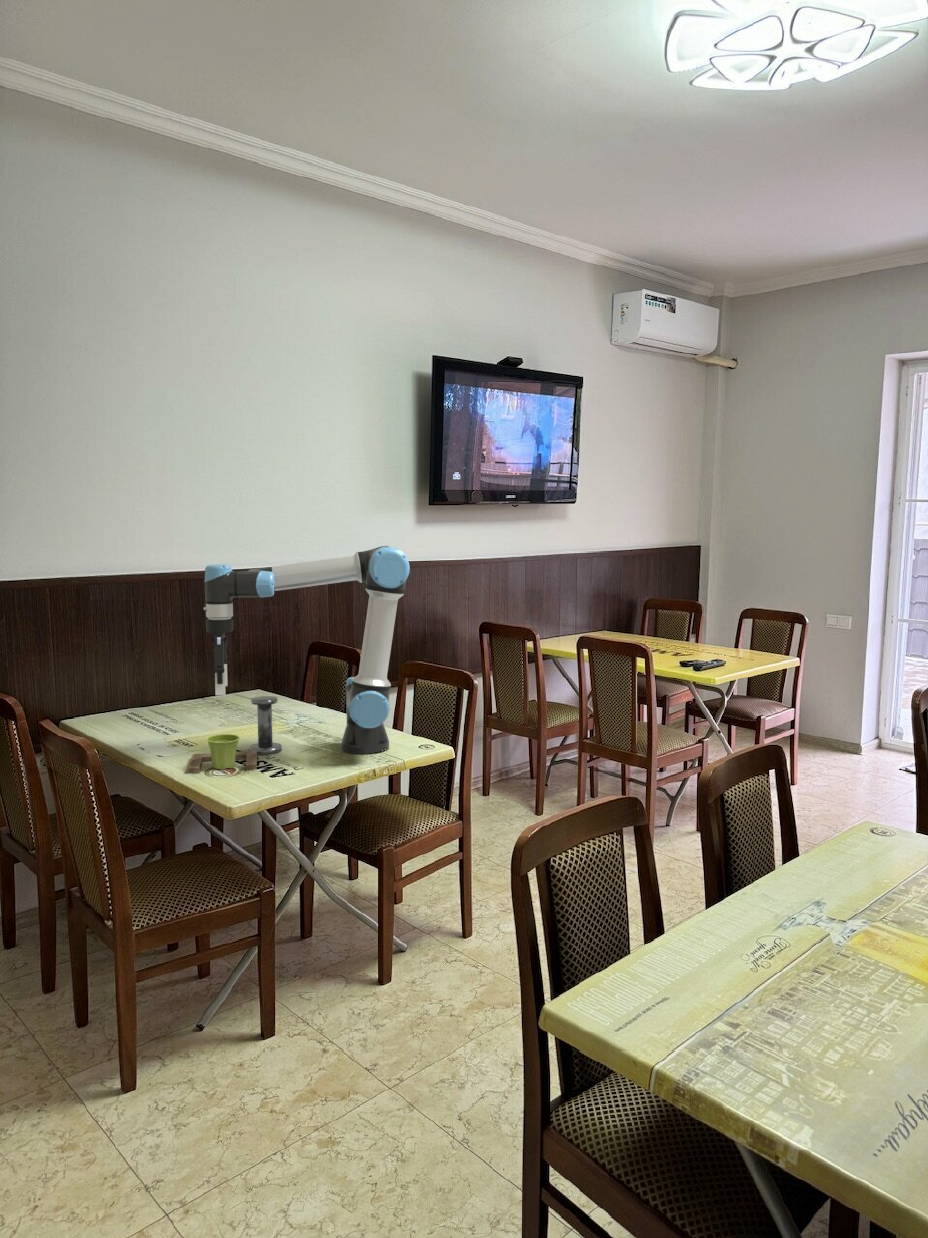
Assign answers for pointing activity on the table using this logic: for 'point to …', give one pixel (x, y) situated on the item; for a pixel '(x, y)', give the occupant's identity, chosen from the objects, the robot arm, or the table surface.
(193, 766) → the notched board
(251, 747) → the spool
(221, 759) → the plant pot
